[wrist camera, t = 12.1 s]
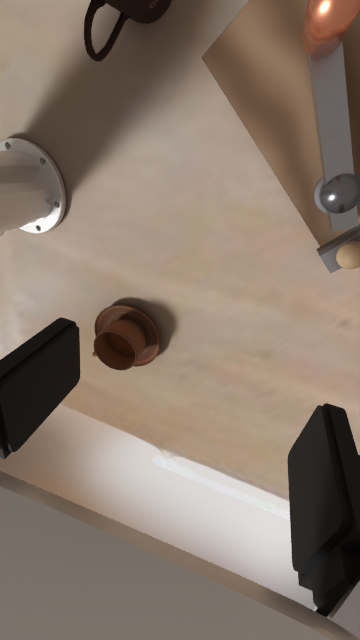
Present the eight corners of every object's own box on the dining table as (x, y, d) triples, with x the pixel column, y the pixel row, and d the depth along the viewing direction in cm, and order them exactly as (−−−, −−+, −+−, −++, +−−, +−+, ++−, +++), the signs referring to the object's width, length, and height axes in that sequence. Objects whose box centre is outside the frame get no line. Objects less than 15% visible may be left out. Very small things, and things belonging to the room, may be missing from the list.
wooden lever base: (325, 262, 36) (336, 283, 29) (200, 66, 30) (182, 40, 24) (495, 167, 27) (559, 168, 21) (367, -129, 22) (403, -243, 16)
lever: (360, 220, 30) (387, 238, 23) (323, 230, 32) (337, 249, 25) (342, 0, 23) (371, -71, 16) (295, 25, 25) (304, -30, 18)
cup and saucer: (136, 370, 54) (121, 392, 49) (88, 326, 52) (68, 344, 47) (177, 337, 48) (165, 359, 42) (125, 286, 46) (105, 302, 41)
